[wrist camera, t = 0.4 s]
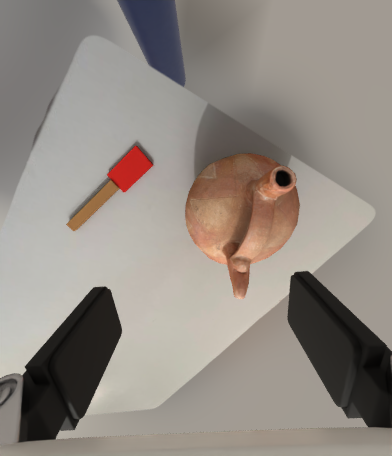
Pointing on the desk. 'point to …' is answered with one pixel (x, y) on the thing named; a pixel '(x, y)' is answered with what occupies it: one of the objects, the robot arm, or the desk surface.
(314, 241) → the desk surface
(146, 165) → the spatula
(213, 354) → the desk surface
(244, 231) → the jug
